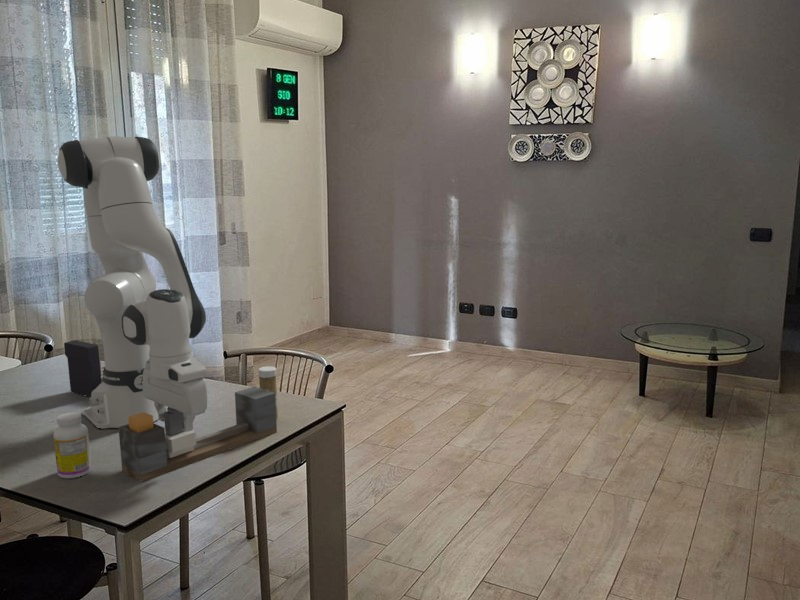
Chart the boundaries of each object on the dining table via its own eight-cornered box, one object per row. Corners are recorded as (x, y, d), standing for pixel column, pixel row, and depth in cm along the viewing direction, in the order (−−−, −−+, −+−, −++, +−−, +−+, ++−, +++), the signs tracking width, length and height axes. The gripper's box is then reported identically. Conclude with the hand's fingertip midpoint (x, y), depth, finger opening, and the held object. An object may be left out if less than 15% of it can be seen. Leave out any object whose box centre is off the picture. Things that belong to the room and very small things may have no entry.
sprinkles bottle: (281, 419, 183) (279, 368, 180) (264, 422, 180) (262, 371, 178) (273, 413, 186) (271, 364, 184) (257, 417, 184) (255, 367, 181)
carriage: (157, 452, 157) (154, 408, 155) (181, 444, 162) (178, 401, 160) (172, 459, 153) (169, 414, 151) (196, 451, 158) (194, 407, 156)
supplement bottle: (64, 466, 154) (58, 410, 152) (95, 465, 155) (90, 409, 153) (52, 480, 148) (46, 422, 145) (85, 479, 148) (79, 421, 146)
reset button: (130, 439, 150) (128, 416, 149) (145, 434, 153) (143, 412, 152) (138, 443, 148) (137, 420, 147) (154, 438, 151) (152, 415, 150)
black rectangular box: (105, 395, 202) (100, 344, 200) (91, 399, 199) (87, 347, 196) (82, 388, 208) (77, 339, 205) (68, 392, 205) (63, 342, 202)
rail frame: (122, 471, 152) (118, 427, 150) (256, 424, 179) (254, 386, 177) (141, 481, 147) (138, 436, 145) (276, 431, 174) (275, 393, 172)
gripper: (133, 359, 158) (137, 418, 161) (184, 377, 145) (189, 440, 147) (158, 353, 163) (162, 411, 165) (211, 370, 150) (214, 432, 152)
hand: (175, 425), depth 156 cm, fingers open, 8 cm apart
